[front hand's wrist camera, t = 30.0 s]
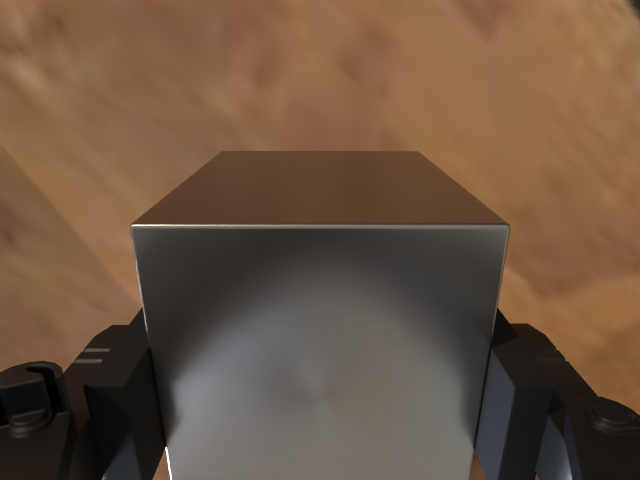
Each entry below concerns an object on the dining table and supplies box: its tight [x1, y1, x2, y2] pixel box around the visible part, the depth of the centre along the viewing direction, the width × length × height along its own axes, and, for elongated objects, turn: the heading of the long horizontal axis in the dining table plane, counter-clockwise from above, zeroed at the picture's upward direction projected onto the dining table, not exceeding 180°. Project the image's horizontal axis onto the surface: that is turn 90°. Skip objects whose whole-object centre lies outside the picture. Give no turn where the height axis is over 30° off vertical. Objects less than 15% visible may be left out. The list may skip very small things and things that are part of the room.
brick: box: [130, 151, 510, 480], centre depth 13 cm, size 7×8×8 cm
